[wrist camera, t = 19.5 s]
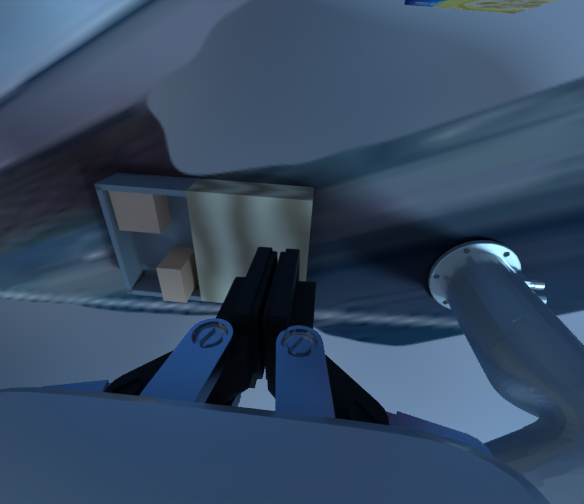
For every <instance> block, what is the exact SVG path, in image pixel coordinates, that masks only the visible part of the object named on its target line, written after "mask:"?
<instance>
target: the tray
mask: <svg viewBox="0 0 584 504" xmlns="http://www.w3.org/2000/svg"><path fill="white" fill-rule="evenodd" d="M199 179H200V178H186V177H173V176H160V175H147V174H133V173H120V172H116V173H115V174H113V175H111V176H109V177H107V178H105V179H103V180H101V181H99V182H97V183H95V184H94V185H95V188H96V192H97V195H98V198H99V201H100V205H101V208H102V211H103V215H104V218H105V221H106V224H107V228H108V231H109V234H110V237H111V241H112V244H113V247H114V250H115V254H116V257H117V260H118V264H119V267H120V270H121V273H122V277H123V280H124V283H125V286H126V290H127V293H128V294H138V295H148V296H158V297H163V295H162V291H161V287H160V282H159V278H158V274H157V269H156V267H157V266H158V265H159V264H160V263H161V261H162V260H163V259H164V258H165V257H166V255H167V254H168V253H169V252H170V251H171V250H172V248H173V247H174V246H176V247H188V248H194V245H193V239H192V232H191V225H190V218H189V211H188V204H187V197H186V190H187V189H188V188H189V187H191V186H192V185H193V184H194V183H195V182H196V181H197V180H199ZM108 191H118V192H131V193H143V194H156V195H166V197H167V202H168V208H169V213H170V219H171V224H170V225H169V226H168V227H167V228H166V229H165V230H164V231H163V232H162V233H161V234H159V233H147V232H135V231H123V230H119V227H118V224H117V220H116V217H115V213H114V210H113V206H112V203H111V199H110V196H109V192H108ZM188 300H198V301H201V294H200V287H199V282H198V284H197V285H196V287H195V289H194V291H193V292H192V294H191V296H190V297H189V299H188Z"/></svg>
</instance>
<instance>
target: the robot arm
mask: <svg viewBox="0 0 584 504" xmlns="http://www.w3.org/2000/svg"><path fill="white" fill-rule="evenodd" d="M299 270H300V249H288V248H286V251H285V252H280V256H279V259H278V257H277V251H273V249H272V247H258V249H257V251H256V253H255V256H254V258H253V260H252V263H251V265H250V268H249V270H248V272H247V275H246V277H235V279H234V281H233V283H232V285H231V287H230V289H229V292H228V294H227V296H226V298H225V300H224V302H223V304H222V306H221V308H220V311H219V313H218V315H217V317H216V318H212V319H206V320H203V321H200V322H199V323H197V324H195V325H194V326H193V327H192V328H191V329H190V330H189V331H188V333H187V334H186V335H185V336H184V338H183V339H182V340H181V342H180V343H179V344H178V346H177V347H176V348H175V350H173V351H171V352H169V353H167V354H165V355H163V356H161V357H159V358H157V359H155V360H153V361H151V362H149V363H147V364H145V365H143V366H141V367H138V368H137V369H134V370H132V371H130V372H128V373H126V374H124V375H122V376H121V377H119V378H117V379H116V380H114V381H113V382H112V383H109V382H108V380H100V381H91V382H81V383H71V384H61V385H53V386H52V385H51V386H44V387H22V388H21V387H19V388H5V389H0V504H584V345H583V344H582V343H581V342H580V341H579V340H578V339H577V337H576V336H575V335H573V333H572V332H571V331H570V330H569V329H568V328H567V327H566V326H565V325H564V324H563V322H562V321H561V320H560V319H559V318H558V317H557V316H556V315H555V314H554V313H553V312H552V311H551V310H550V308H549V307H548V306H547V305H546V301H547V299H546V296H545V294H543V293H536V292H534V291H533V290H532V289H536V290H543V289H544V287H545V283H544V281H542V280H533V279H532V280H528V279H527V278H526V277H525V276H524V275H523V274H522V273H521V264H520V261H519V259H518V257H517V255H516V254H515V253H514V252H513V251H512V250H511V249H510V248H508V247H507V246H505V245H503V244H501V243H499V242H495V241H490V240H475V241H470V242H466V243H463V244H460V245H457V246H455V247H453V248H452V249H450V250H448V251H447V252H445V253H444V254H443V255H441V256H440V257H439V259H438V260H437V261H436V262H435V263H434V265H433V266H432V268H431V270H430V273H429V277H428V286H429V289H430V292H431V294H432V296H433V298H434V299H435V300H436V301H437V302H438V303H439V304H441V305H442V306H444V307H446V308H449V309H451V310H452V312H453V313H454V315H455V317H456V319H457V321H458V323H459V325H460V327H461V329H462V331H463V333H464V334H465V336H466V338H467V340H468V342H469V344H470V346H471V348H472V350H473V352H474V354H475V356H476V357H477V359H478V361H479V363H480V365H481V367H482V369H483V371H484V373H485V374H486V376H487V378H488V380H489V382H490V383H491V385H492V386H493V388H494V389H495V390H496V391H497V392H498V393H499V394H500V395H501V396H502V397H503V398H504V399H505V400H507V401H508V402H510V403H511V404H513V405H515V406H516V407H518V408H520V409H522V410H524V411H526V412H528V413H530V414H532V415H534V416H536V417H539V419H538V420H537V421H536V422H534V423H532V424H529V425H528V426H525V427H523V428H522V429H520V430H517V431H515V432H512V433H509V434H507V435H504V436H502V437H499V438H496V439H494V440H491V441H489V442H486V443H484V444H483V443H482V442H481V441H479V440H478V439H477V438H474V437H473V436H471V435H468V434H466V433H463V432H460V431H456V430H454V429H450V428H447V427H444V426H441V425H438V424H435V423H432V422H429V421H426V420H423V419H420V418H417V417H414V416H411V415H407V414H404V413H401V412H398V411H397V413H396V415H395V414H392V413H389V412H386V411H385V409H384V408H383V407H382V406H381V405H380V404H379V402H377V401H376V400H375V399H374V398H373V397H372V396H371V395H370V394H368V393H367V392H366V391H365V390H364V389H363V388H362V387H361V386H360V385H358V384H357V383H356V382H355V381H354V380H353V379H352V378H351V377H350V376H349V375H347V374H346V373H345V372H344V371H343V370H342V369H341V368H340V367H339V366H337V365H336V364H335V363H334V362H333V361H332V360H331V359H330V358H329V357H327V356H326V355H325V351H324V345H323V341H322V338H321V336H320V335H319V333H318V332H317V331H315V330H314V329H313V323H314V309H315V293H316V282H307V281H299ZM264 369H266V380H268V390H269V392H270V393H271V394H272V395H273V396H274V397H275V400H276V401H275V405H276V406H275V411H269V410H260V409H252V408H243V407H238V404H239V402H240V398H241V393H242V392H243V391H245V390H246V389H248V388H255V385H256V381H257V379H262V377H263V373H264Z"/></svg>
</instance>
